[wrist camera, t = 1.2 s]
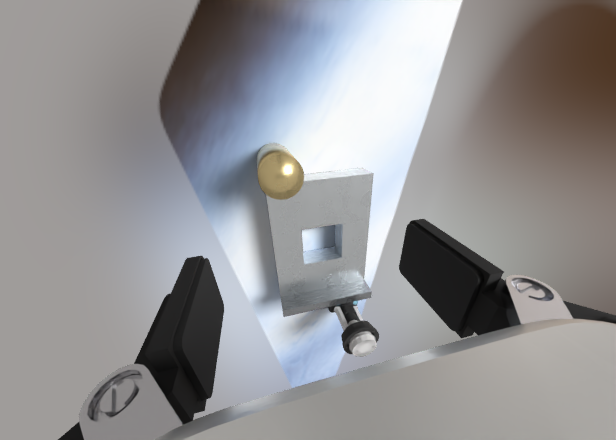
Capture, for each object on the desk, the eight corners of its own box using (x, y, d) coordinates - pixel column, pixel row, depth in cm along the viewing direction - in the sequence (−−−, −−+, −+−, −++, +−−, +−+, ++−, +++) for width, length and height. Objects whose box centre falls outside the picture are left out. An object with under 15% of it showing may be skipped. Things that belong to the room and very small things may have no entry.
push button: (314, 306, 38) (332, 364, 30) (321, 283, 36) (342, 337, 27) (348, 305, 40) (375, 359, 31) (356, 282, 38) (387, 333, 29)
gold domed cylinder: (254, 144, 25) (254, 156, 18) (289, 141, 25) (302, 152, 18) (259, 178, 26) (261, 202, 19) (291, 175, 27) (305, 196, 20)
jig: (263, 178, 27) (265, 192, 22) (362, 167, 29) (384, 178, 24) (279, 288, 35) (283, 316, 30) (355, 273, 37) (370, 297, 32)
